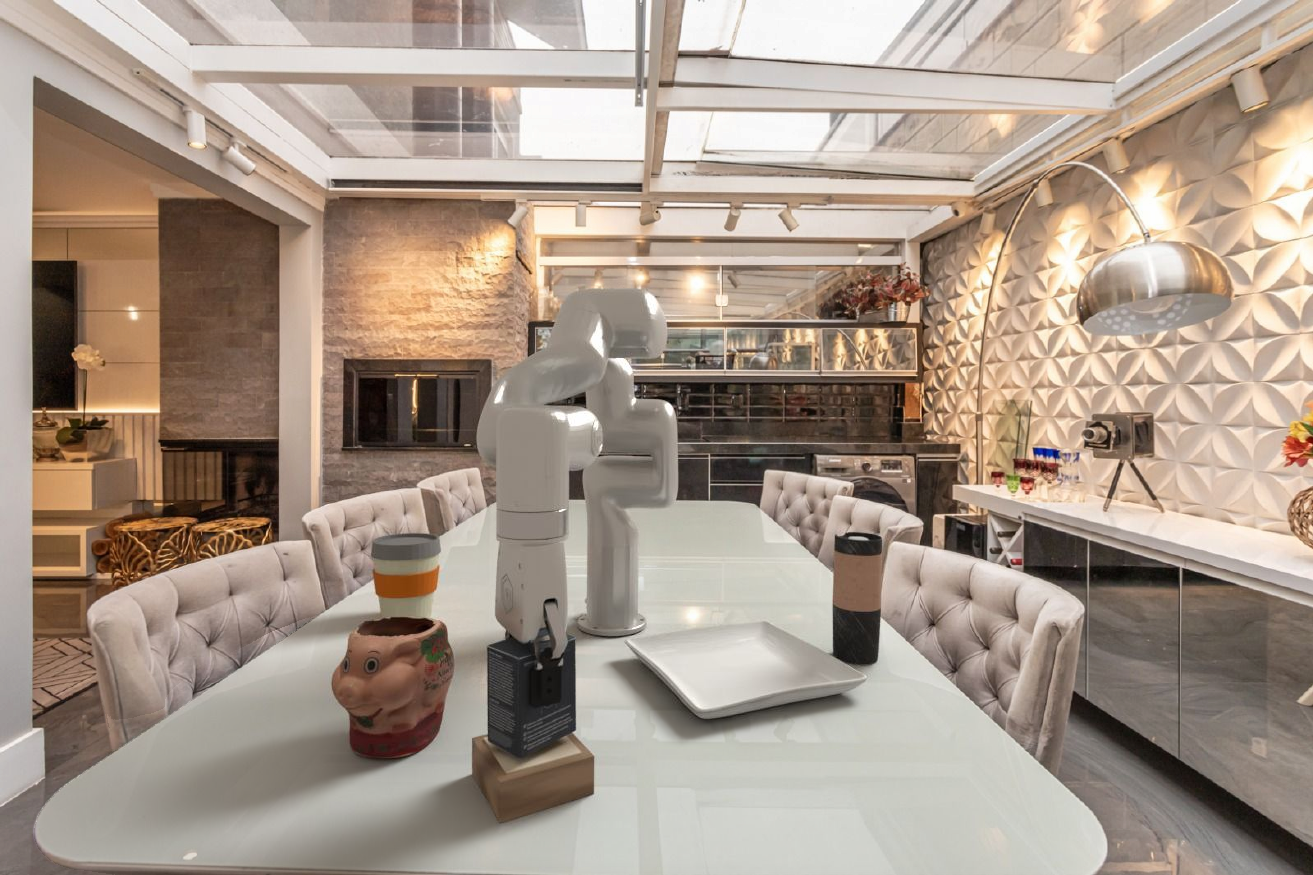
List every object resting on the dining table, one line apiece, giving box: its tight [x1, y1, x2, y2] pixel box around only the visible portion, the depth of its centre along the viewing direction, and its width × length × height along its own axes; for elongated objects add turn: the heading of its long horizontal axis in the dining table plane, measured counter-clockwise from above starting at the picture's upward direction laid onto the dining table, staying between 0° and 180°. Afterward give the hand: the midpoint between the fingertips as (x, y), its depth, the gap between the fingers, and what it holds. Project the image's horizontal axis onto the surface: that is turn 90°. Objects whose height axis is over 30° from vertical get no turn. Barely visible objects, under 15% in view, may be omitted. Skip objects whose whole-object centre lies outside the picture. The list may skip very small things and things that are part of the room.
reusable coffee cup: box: [370, 532, 442, 619], centre depth 126 cm, size 13×12×15 cm
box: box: [486, 630, 577, 759], centre depth 70 cm, size 8×6×11 cm
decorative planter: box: [331, 616, 455, 759], centre depth 81 cm, size 20×12×14 cm, turn 173°
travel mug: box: [832, 531, 883, 666], centre depth 108 cm, size 8×8×20 cm
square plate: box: [624, 620, 868, 720], centre depth 100 cm, size 27×27×4 cm
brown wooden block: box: [471, 732, 595, 824], centre depth 70 cm, size 10×10×4 cm
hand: (532, 689), depth 70 cm, fingers closed on box, 7 cm apart
